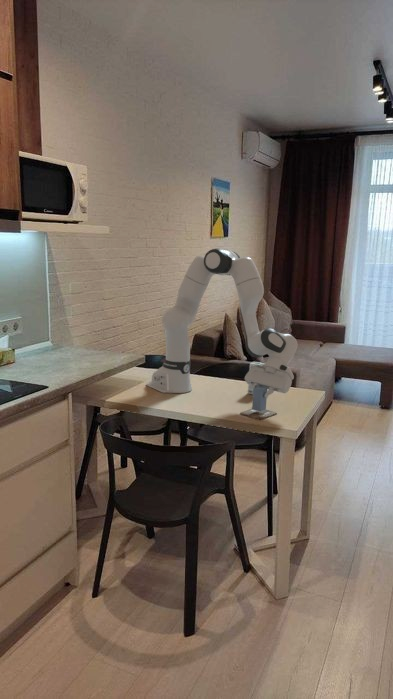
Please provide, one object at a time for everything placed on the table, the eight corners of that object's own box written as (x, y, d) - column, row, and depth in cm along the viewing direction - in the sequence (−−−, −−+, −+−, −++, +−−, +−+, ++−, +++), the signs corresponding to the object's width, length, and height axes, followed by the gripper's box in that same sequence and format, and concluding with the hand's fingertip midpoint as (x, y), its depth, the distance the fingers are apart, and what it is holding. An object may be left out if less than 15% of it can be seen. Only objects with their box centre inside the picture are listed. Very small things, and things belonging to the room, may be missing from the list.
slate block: (252, 409, 217) (253, 387, 215) (257, 407, 220) (259, 386, 218) (260, 411, 214) (261, 390, 212) (265, 409, 217) (267, 388, 215)
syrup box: (247, 393, 246) (249, 363, 243) (252, 390, 251) (254, 360, 248) (258, 395, 243) (261, 365, 240) (263, 392, 248) (265, 362, 246)
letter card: (239, 414, 216) (240, 412, 216) (257, 408, 225) (257, 406, 225) (260, 420, 210) (260, 418, 209) (277, 414, 218) (277, 412, 218)
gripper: (251, 359, 225) (235, 385, 220) (292, 369, 212) (277, 397, 207) (256, 368, 229) (241, 394, 224) (297, 378, 216) (282, 405, 211)
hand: (259, 395), depth 215 cm, fingers closed on slate block, 4 cm apart
